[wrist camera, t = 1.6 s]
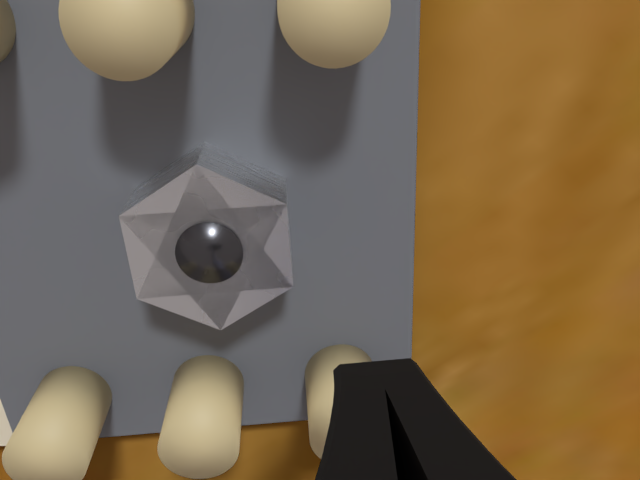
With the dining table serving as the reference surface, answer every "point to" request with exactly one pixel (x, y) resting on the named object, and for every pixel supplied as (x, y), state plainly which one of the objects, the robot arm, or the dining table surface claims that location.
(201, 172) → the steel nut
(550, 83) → the dining table surface
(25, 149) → the board
